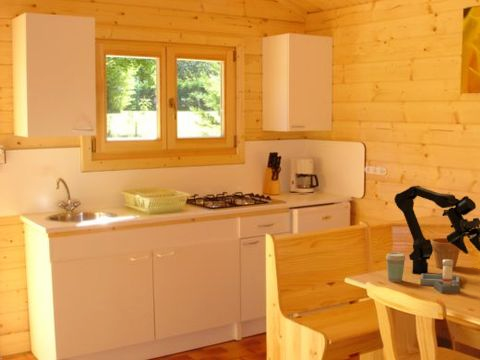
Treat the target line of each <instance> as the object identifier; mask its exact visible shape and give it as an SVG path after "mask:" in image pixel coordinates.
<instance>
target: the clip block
mask: <svg viewBox="0 0 480 360" xmlns="http://www.w3.org/2000/svg"><path fill="white" fill-rule="evenodd" d="M442 283H443V281H434V286H433V288H434V290H436V291H437V292H439V293H441V294H461V285H460V284H459V285H458V284H457V283H455V282H453V281H452V285H448V286H443V285H442Z"/></svg>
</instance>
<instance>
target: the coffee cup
mask: <svg viewBox="0 0 480 360" xmlns="http://www.w3.org/2000/svg"><path fill="white" fill-rule="evenodd" d="M385 259H386V268H387V278H388V279H387V280H388V281H389V282H391V283H402V282H403V274H404V270H405V269H404V268H405V262H406V261H405V260H406V256H405V254H404V253H400V252H388V253H386V256H385Z"/></svg>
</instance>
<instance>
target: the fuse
mask: <svg viewBox="0 0 480 360" xmlns="http://www.w3.org/2000/svg"><path fill="white" fill-rule="evenodd" d="M452 266H453V260H450V259H443V268H442V275H443V279H442V280H443V283H442V285H443V286H448V285H452V275H453V269H452Z"/></svg>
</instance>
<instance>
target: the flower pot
mask: <svg viewBox="0 0 480 360" xmlns="http://www.w3.org/2000/svg"><path fill="white" fill-rule="evenodd" d="M446 238H447V237H438V238H433V239H431V240H430V241H431V245H432V246H433V248H432V249H433V256H434V262H435V266H436V268H439V269H443V259H450V260H453V266H452V270H453V269H456V266H457V263H458V259H459V255H460V251H461V250H460V249H459V248H458V247H456V246H455V245H453V244H451V242H448V241H447V239H446Z"/></svg>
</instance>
